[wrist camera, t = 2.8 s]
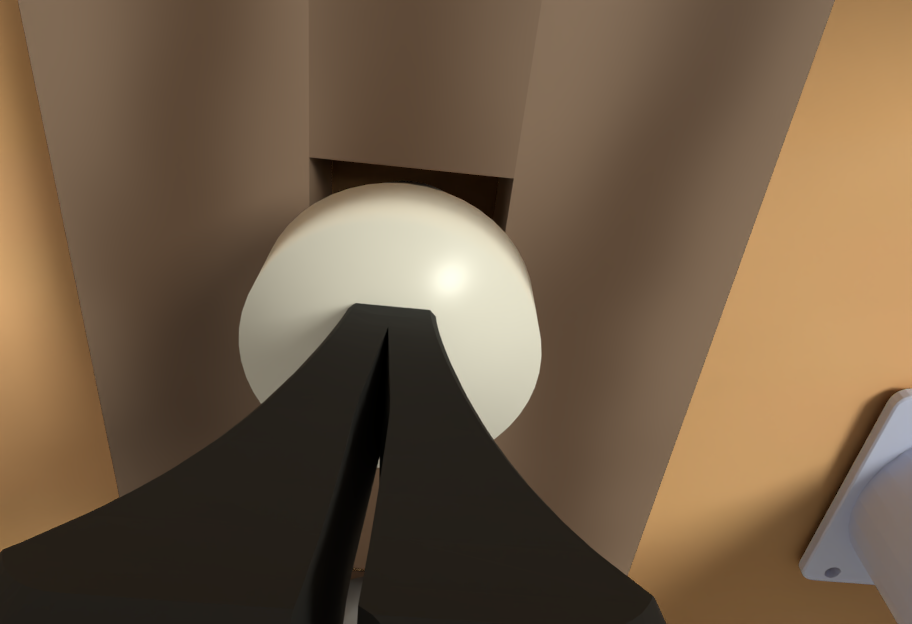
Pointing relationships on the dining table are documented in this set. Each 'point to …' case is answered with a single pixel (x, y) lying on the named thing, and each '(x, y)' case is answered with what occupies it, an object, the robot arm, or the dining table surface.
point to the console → (433, 148)
